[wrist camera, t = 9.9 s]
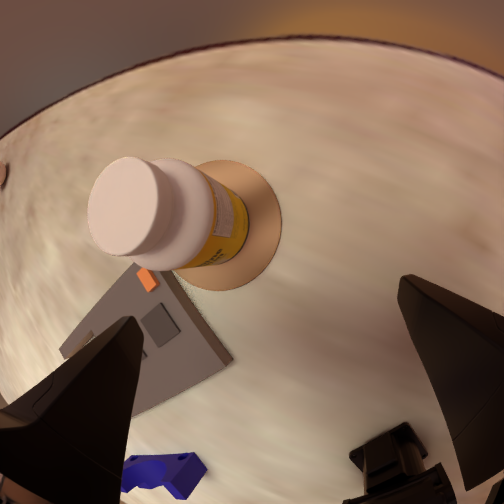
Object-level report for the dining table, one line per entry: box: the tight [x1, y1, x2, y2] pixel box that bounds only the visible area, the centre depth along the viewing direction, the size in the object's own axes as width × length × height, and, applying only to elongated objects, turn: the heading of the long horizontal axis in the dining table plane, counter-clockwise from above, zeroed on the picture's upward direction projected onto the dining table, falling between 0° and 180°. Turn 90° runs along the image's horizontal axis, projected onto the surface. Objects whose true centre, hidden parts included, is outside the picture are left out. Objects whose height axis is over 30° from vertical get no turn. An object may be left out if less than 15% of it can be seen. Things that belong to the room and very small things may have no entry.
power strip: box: [59, 262, 233, 417], centre depth 25 cm, size 12×21×2 cm, turn 127°
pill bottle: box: [87, 157, 250, 271], centre depth 17 cm, size 6×6×12 cm
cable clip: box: [121, 452, 208, 500], centre depth 23 cm, size 12×4×6 cm, turn 118°
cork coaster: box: [174, 160, 281, 291], centre depth 23 cm, size 11×11×1 cm
